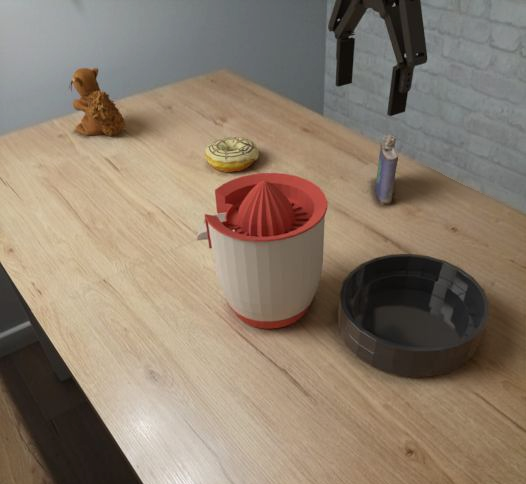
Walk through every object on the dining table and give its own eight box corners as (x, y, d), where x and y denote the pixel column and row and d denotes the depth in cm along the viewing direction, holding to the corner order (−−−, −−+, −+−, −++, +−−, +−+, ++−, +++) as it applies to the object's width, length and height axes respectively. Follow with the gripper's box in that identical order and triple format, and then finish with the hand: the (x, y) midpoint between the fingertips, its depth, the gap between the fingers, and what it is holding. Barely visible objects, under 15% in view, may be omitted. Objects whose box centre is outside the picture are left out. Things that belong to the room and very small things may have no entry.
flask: (392, 205, 94) (400, 148, 86) (375, 205, 94) (382, 148, 86) (389, 179, 100) (396, 124, 92) (373, 179, 100) (379, 124, 92)
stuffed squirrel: (108, 115, 127) (92, 57, 117) (140, 132, 120) (126, 71, 110) (72, 129, 123) (52, 69, 113) (102, 147, 115) (85, 85, 106)
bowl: (458, 280, 79) (467, 251, 75) (496, 377, 66) (509, 348, 62) (332, 285, 80) (334, 256, 75) (344, 381, 66) (347, 353, 62)
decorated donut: (268, 163, 107) (267, 145, 104) (225, 180, 103) (223, 162, 100) (240, 145, 113) (238, 128, 110) (198, 161, 109) (195, 144, 106)
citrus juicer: (220, 267, 84) (203, 148, 69) (327, 273, 81) (333, 152, 67) (196, 335, 74) (170, 213, 59) (318, 345, 71) (323, 220, 56)
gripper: (307, -85, 71) (305, 78, 87) (428, -60, 56) (400, 134, 71) (352, -92, 73) (343, 68, 89) (480, -70, 58) (442, 120, 73)
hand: (368, 98), depth 80 cm, fingers open, 13 cm apart
